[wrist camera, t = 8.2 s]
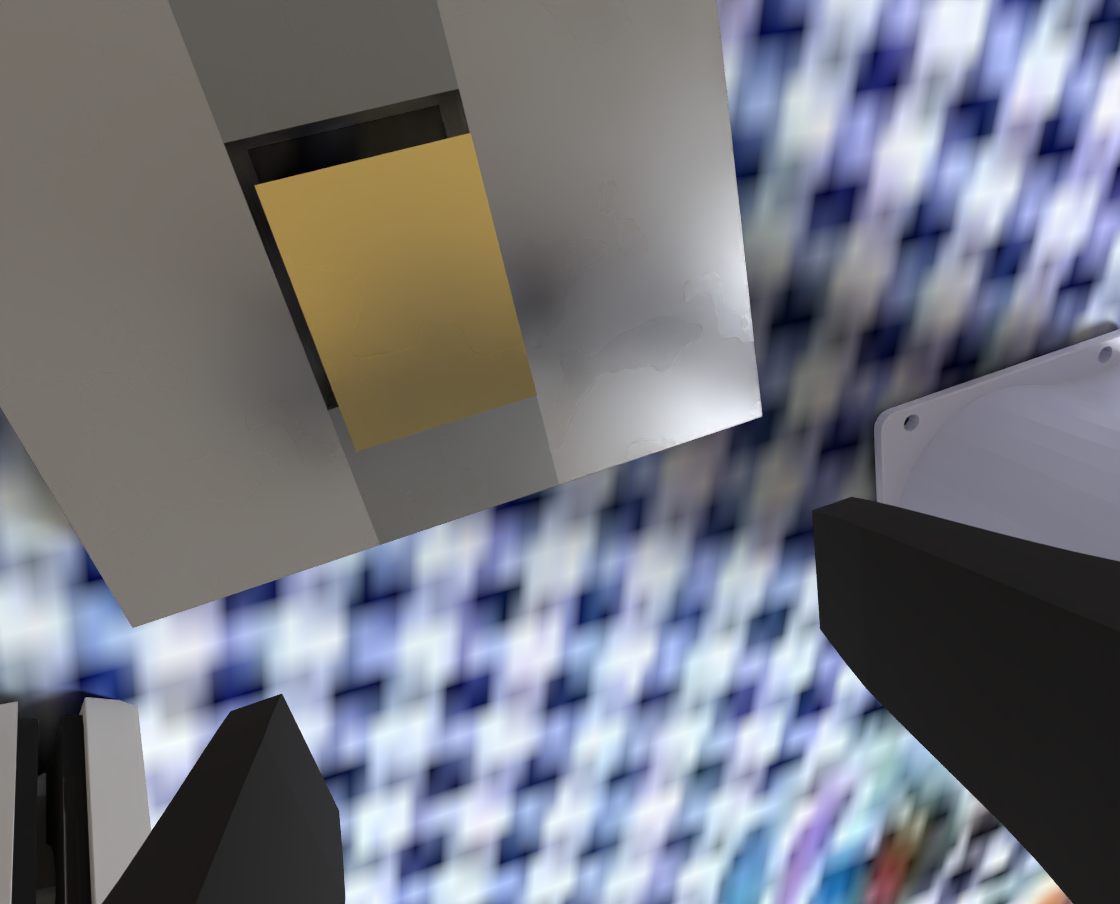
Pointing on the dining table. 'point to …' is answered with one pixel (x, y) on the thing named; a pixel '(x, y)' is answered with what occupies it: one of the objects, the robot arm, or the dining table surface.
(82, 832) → the white angular device
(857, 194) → the dining table surface
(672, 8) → the grey slotted plate
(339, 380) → the wood grain block
